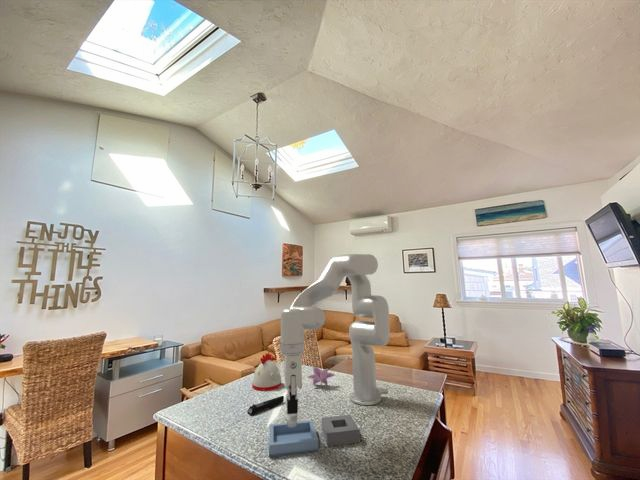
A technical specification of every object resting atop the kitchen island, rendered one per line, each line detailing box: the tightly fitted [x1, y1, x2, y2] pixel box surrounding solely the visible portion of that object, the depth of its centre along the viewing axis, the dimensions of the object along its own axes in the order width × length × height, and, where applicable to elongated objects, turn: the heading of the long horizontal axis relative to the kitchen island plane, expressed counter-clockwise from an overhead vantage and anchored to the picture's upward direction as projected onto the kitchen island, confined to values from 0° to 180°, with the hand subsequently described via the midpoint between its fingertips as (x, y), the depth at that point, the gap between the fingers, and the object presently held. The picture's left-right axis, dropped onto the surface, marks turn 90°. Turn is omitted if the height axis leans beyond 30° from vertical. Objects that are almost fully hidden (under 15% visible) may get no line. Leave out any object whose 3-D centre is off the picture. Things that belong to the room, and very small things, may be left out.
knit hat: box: [251, 352, 282, 392], centre depth 133 cm, size 14×14×15 cm
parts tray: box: [268, 419, 319, 458], centre depth 83 cm, size 14×12×3 cm
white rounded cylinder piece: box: [286, 389, 298, 428], centre depth 85 cm, size 3×3×10 cm
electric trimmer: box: [247, 395, 285, 417], centre depth 108 cm, size 4×16×3 cm, turn 132°
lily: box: [307, 366, 336, 389], centre depth 129 cm, size 12×12×10 cm
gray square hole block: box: [320, 414, 360, 447], centre depth 87 cm, size 10×10×4 cm
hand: (292, 409), depth 85 cm, fingers closed on white rounded cylinder piece, 3 cm apart
